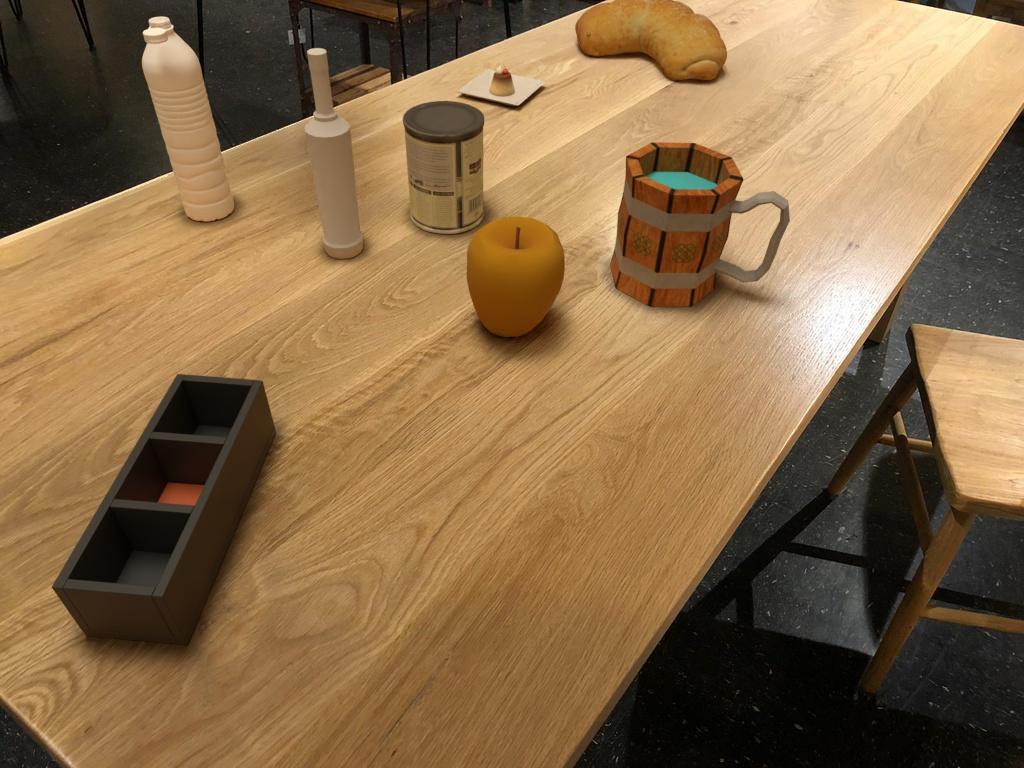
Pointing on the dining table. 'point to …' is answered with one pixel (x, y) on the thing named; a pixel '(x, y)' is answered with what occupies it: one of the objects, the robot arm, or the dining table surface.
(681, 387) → the dining table surface
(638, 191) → the mug
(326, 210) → the bottle
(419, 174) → the coffee can
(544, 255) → the apple
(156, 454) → the rack
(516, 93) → the dessert
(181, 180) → the water bottle
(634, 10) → the bread
